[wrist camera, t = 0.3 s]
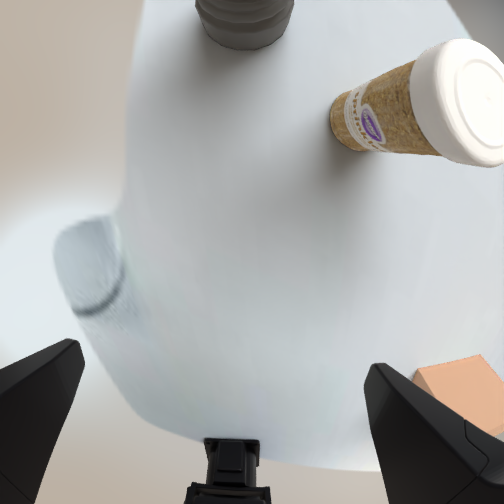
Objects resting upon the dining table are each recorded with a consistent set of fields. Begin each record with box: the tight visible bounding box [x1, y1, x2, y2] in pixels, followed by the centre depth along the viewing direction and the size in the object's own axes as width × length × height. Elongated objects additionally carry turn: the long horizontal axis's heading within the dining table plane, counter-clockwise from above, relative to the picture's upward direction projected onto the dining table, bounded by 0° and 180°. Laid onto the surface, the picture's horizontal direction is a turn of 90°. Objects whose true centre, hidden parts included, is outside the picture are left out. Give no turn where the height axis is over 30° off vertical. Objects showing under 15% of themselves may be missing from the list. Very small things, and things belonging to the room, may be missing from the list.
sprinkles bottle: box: [330, 39, 504, 168], centre depth 12 cm, size 5×5×14 cm
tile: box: [412, 354, 504, 437], centre depth 22 cm, size 2×10×11 cm, turn 90°
